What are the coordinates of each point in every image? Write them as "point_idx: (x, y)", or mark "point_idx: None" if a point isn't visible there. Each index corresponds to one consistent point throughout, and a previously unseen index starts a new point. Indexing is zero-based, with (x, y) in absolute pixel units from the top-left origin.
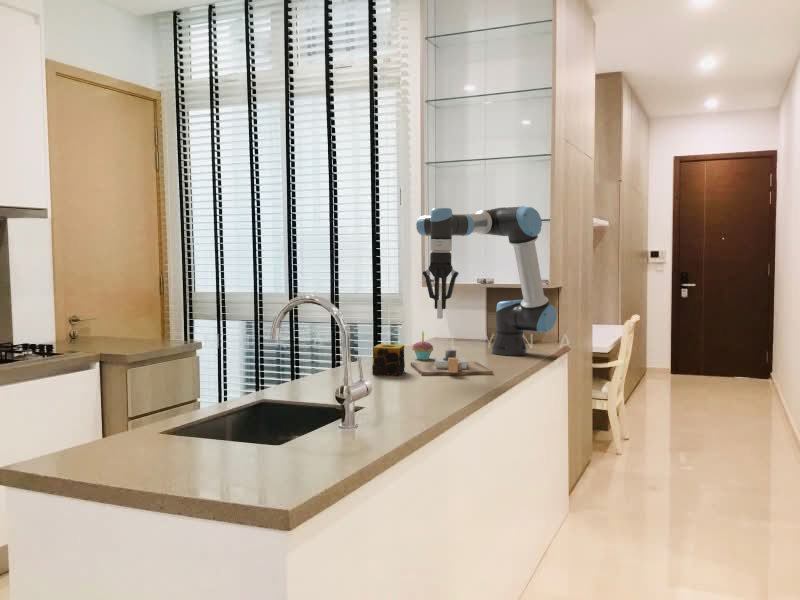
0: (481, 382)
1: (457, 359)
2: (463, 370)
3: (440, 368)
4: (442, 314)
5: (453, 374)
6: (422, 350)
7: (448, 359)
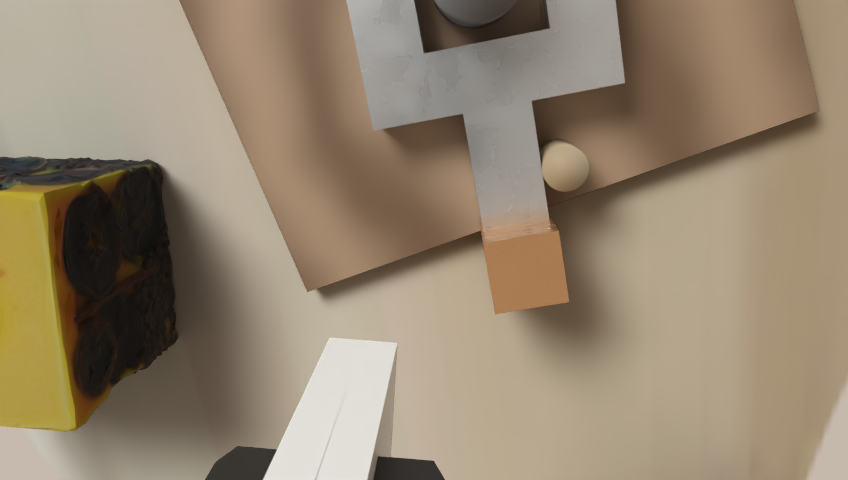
0: (711, 420)
1: (565, 300)
2: (589, 141)
3: None
4: (389, 402)
5: None
6: None
7: (488, 273)
